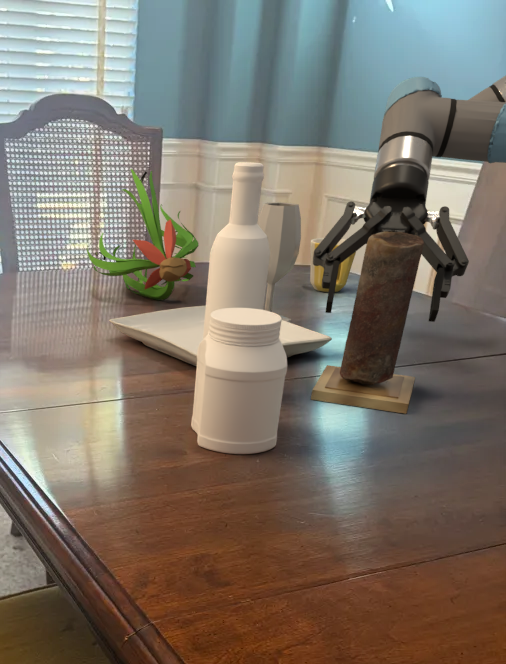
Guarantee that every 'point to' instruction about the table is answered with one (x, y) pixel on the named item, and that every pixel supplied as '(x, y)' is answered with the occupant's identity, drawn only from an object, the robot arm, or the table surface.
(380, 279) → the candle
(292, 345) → the square plate
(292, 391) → the table surface
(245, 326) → the jar
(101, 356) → the table surface
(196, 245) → the decorative plant
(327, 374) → the board
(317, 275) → the mug
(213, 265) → the bottle
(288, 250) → the wineglass
